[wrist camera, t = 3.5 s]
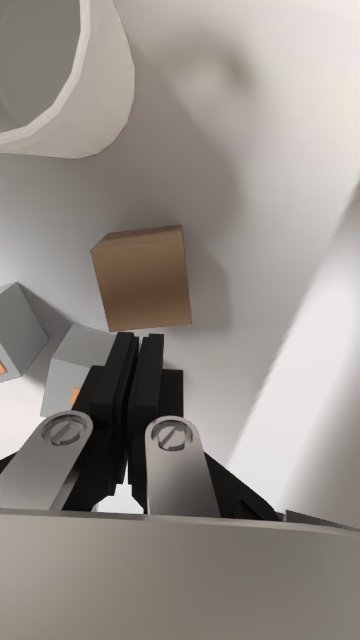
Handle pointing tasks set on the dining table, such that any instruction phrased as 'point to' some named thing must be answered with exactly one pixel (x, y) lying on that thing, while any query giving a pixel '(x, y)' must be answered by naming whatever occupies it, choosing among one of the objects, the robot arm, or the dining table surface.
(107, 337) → the block one
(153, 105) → the dining table surface
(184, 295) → the plain block
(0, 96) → the mug
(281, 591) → the robot arm
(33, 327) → the block two
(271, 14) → the dining table surface
